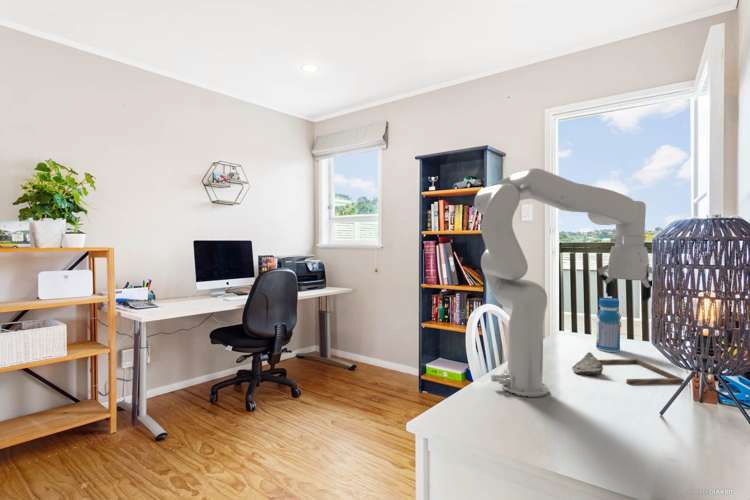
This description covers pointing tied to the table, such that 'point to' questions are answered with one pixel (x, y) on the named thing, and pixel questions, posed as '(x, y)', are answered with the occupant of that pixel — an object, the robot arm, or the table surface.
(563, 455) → the table surface
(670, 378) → the frame
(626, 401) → the table surface
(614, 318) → the beverage bottle
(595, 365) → the rock sample
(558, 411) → the table surface
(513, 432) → the table surface
